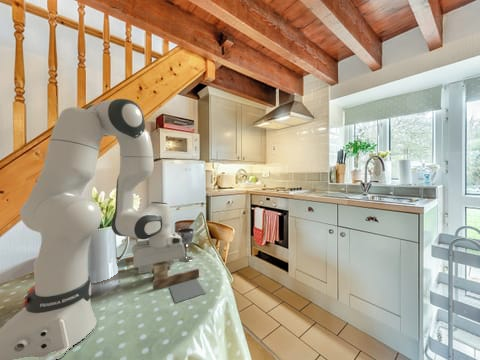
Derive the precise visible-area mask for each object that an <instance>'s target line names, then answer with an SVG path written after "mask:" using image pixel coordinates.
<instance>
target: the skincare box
mask: <svg viewBox="0 0 480 360" xmlns="http://www.w3.org/2000/svg"><path fill="white" fill-rule="evenodd" d="M148 241H149V239H137V242H136V244H137V243H143V242H148ZM148 245H149V244H148ZM152 268H153V264H151V269H152ZM137 269H138V274H139V275H140V274H141V275H142V274H146V273H150V270H149V269H148V268H147V265H146V266H141V267H137Z"/></svg>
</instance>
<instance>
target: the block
mask: <svg viewBox="0 0 480 360" xmlns="http://www.w3.org/2000/svg"><path fill="white" fill-rule="evenodd" d="M152 265H153V268H154V274H152V276H153V280H155V279H159V278H163V277H167V276H169V275H168V271H169V270H168V268H167V265H168V261H165V262H160V263H155V264H152Z"/></svg>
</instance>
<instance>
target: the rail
mask: <svg viewBox="0 0 480 360" xmlns="http://www.w3.org/2000/svg"><path fill="white" fill-rule="evenodd" d="M199 278H200V269H199V268H195V269H191V270H187V271H183V272H179V273H175V274H172V275H168V276H167V277H163V278H159V279H155V280H154V279H153V280H152V290H153V291H155V290H156V291H157V290H159V289H164V288H167V287H169V286H173V285H176V284H180V283H184V282H187V281H191V280H194V279H199Z"/></svg>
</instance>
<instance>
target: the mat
mask: <svg viewBox="0 0 480 360" xmlns="http://www.w3.org/2000/svg"><path fill="white" fill-rule="evenodd" d="M168 288H169V291H170V293H171V296H172V299H173V301H174V303H175V304H178V303H181V302H184V301H187V300H188V301H189V300H191V299H193V298H197V297H199V296H203V295H205V294H206V293H207V292H206V290H204V288H203V286H202V284H200V282H199V281H198V278H196V279H192V280H188V281H185V282H181V283H178V284H174V285H170V286H168Z"/></svg>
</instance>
